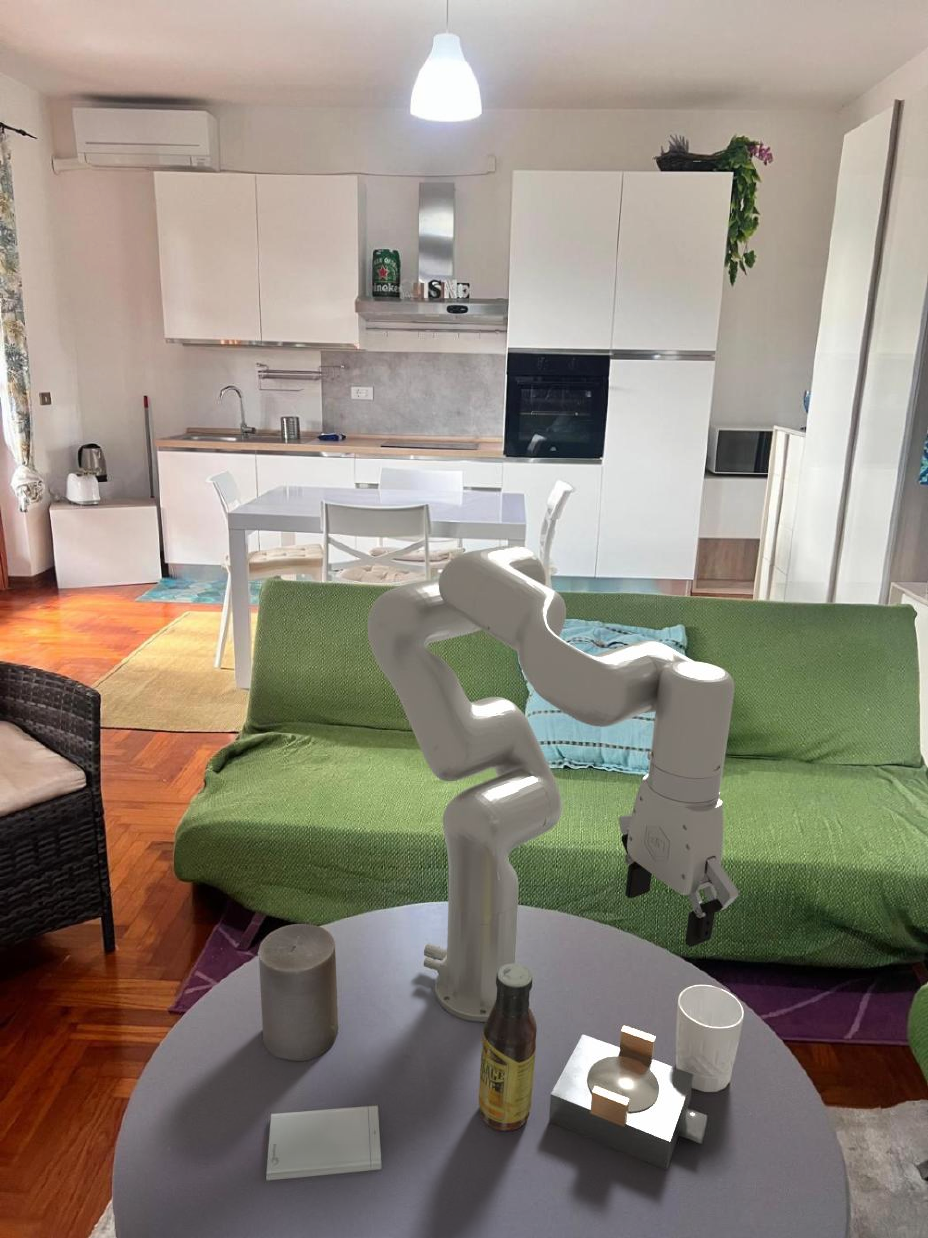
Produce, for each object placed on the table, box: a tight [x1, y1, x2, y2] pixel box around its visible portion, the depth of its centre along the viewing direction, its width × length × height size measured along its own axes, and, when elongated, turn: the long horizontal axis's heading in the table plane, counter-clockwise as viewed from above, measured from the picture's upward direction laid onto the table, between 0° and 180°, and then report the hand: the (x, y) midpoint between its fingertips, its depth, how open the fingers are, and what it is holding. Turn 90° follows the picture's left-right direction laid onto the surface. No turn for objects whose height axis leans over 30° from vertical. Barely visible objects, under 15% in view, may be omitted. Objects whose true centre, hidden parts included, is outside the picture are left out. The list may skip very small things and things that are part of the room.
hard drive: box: [265, 1105, 382, 1181], centre depth 103 cm, size 2×8×12 cm
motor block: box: [548, 1025, 708, 1171], centre depth 107 cm, size 17×12×7 cm
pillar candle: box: [257, 923, 339, 1062], centre depth 117 cm, size 10×10×15 cm
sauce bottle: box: [478, 963, 538, 1132], centre depth 105 cm, size 6×6×20 cm
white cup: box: [675, 984, 745, 1093], centre depth 113 cm, size 8×8×10 cm
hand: (666, 917), depth 101 cm, fingers open, 9 cm apart
